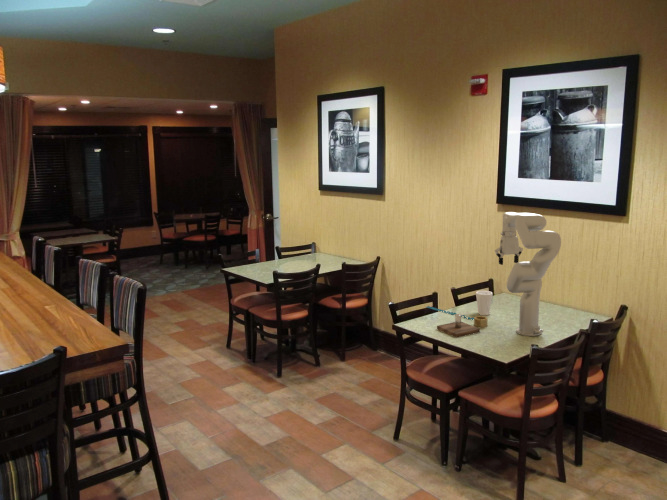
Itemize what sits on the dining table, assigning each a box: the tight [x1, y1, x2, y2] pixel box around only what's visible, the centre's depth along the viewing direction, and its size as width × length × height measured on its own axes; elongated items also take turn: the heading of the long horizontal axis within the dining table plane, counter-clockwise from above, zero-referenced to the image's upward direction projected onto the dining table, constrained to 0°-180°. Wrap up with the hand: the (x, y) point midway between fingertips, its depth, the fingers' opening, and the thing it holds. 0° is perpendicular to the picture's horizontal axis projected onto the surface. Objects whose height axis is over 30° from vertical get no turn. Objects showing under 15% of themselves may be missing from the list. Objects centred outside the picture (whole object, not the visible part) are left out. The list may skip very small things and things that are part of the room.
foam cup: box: [475, 290, 494, 316], centre depth 318 cm, size 10×9×13 cm
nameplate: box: [425, 305, 474, 321], centre depth 323 cm, size 37×1×5 cm
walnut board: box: [436, 321, 481, 338], centre depth 291 cm, size 16×16×2 cm
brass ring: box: [473, 315, 489, 329], centre depth 298 cm, size 7×7×4 cm
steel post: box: [454, 313, 462, 328], centre depth 290 cm, size 3×3×7 cm
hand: (508, 263), depth 306 cm, fingers open, 9 cm apart
